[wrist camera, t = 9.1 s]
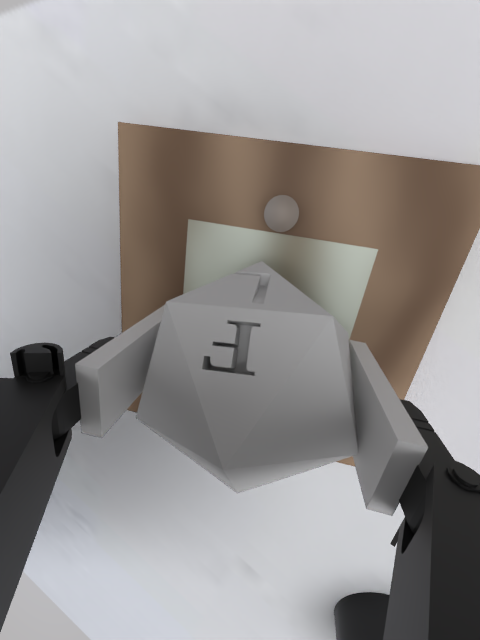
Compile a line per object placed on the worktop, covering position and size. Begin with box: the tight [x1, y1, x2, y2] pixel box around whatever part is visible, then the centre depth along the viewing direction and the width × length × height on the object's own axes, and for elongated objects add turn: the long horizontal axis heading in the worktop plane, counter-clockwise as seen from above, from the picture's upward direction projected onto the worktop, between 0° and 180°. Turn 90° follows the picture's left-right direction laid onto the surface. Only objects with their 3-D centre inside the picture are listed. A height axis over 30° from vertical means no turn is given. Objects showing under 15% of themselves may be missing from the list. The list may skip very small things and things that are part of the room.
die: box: [136, 261, 358, 493], centre depth 12 cm, size 8×9×10 cm
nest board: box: [118, 122, 480, 466], centre depth 17 cm, size 20×20×4 cm
